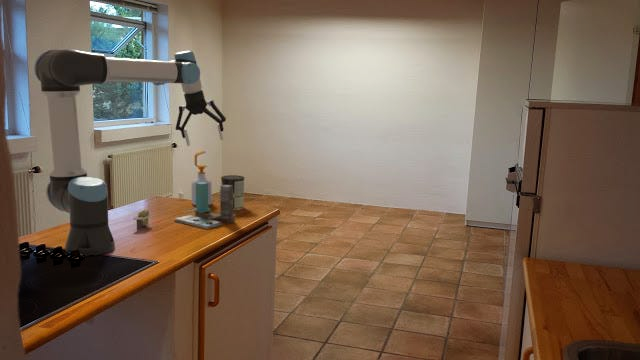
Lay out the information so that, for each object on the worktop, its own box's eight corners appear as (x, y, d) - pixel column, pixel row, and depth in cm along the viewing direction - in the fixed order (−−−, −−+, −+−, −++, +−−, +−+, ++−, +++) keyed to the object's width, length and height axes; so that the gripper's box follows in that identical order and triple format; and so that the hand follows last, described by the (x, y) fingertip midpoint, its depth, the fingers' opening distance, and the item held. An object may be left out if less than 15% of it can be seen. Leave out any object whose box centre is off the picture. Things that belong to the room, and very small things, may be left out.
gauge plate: (207, 229, 218) (207, 225, 217) (174, 221, 229) (174, 217, 228) (222, 225, 224) (222, 222, 224) (189, 217, 235) (189, 214, 235)
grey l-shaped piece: (213, 227, 220) (213, 189, 218) (180, 219, 231) (180, 183, 229) (235, 222, 230) (235, 185, 228) (203, 214, 241) (203, 180, 239)
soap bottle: (213, 205, 260) (213, 152, 256) (193, 206, 257) (192, 152, 253) (209, 201, 268) (209, 149, 264) (190, 202, 265) (189, 150, 261)
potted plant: (167, 223, 226) (167, 207, 225) (148, 235, 208) (148, 217, 207) (138, 222, 227) (138, 206, 226) (117, 233, 210) (117, 216, 209)
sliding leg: (188, 216, 228) (187, 186, 226) (179, 214, 231) (179, 185, 229) (210, 211, 238) (210, 183, 236) (202, 209, 241) (202, 181, 239)
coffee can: (222, 210, 250) (222, 179, 248) (219, 205, 260) (219, 175, 257) (246, 209, 253) (246, 178, 251) (242, 205, 263) (242, 175, 260)
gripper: (224, 83, 227) (235, 134, 235) (163, 94, 226) (176, 144, 234) (223, 87, 220) (235, 139, 228) (160, 98, 219) (173, 150, 227)
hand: (205, 142), depth 231 cm, fingers open, 13 cm apart
